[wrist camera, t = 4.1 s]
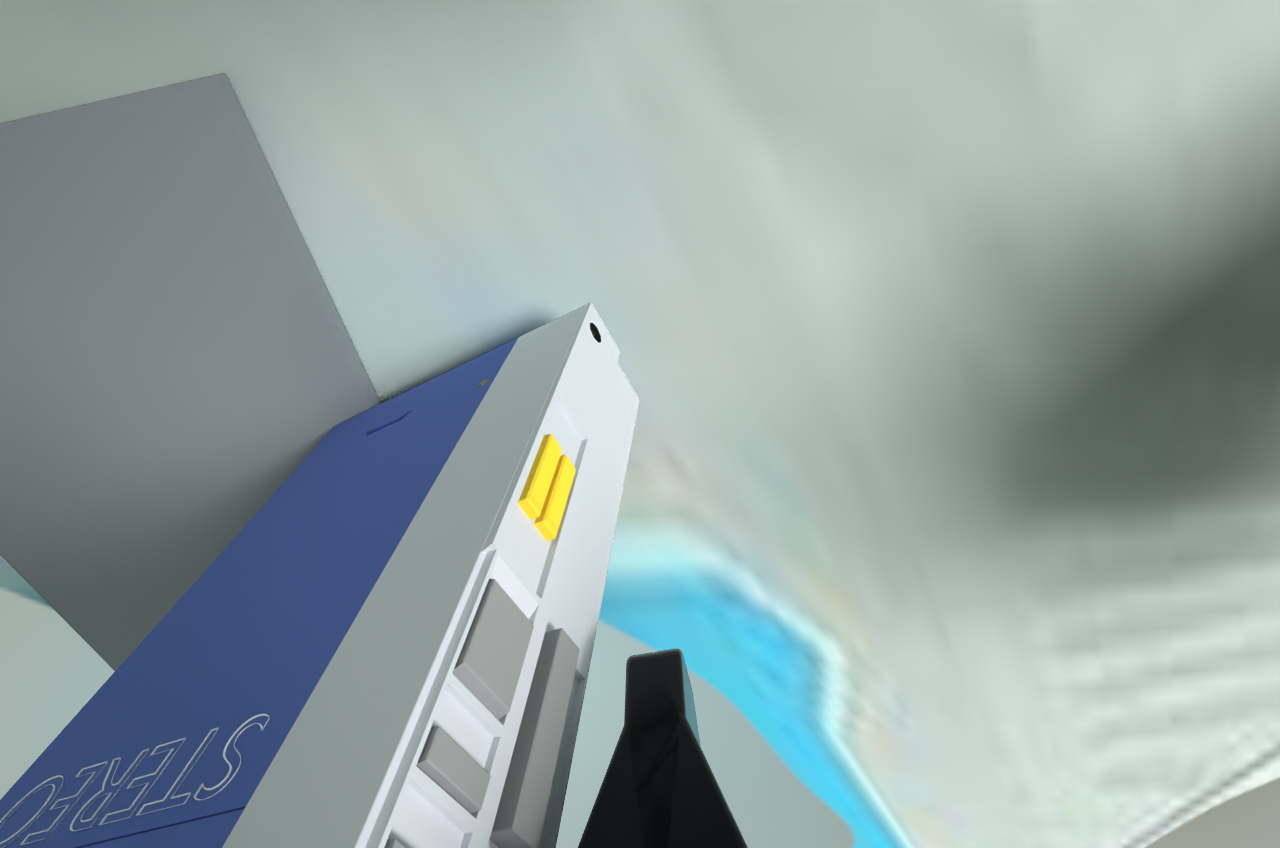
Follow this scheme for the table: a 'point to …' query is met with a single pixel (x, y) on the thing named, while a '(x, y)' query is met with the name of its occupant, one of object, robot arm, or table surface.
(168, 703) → the walkman
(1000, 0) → the table surface
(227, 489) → the mat
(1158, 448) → the table surface
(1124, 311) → the table surface
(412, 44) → the table surface
